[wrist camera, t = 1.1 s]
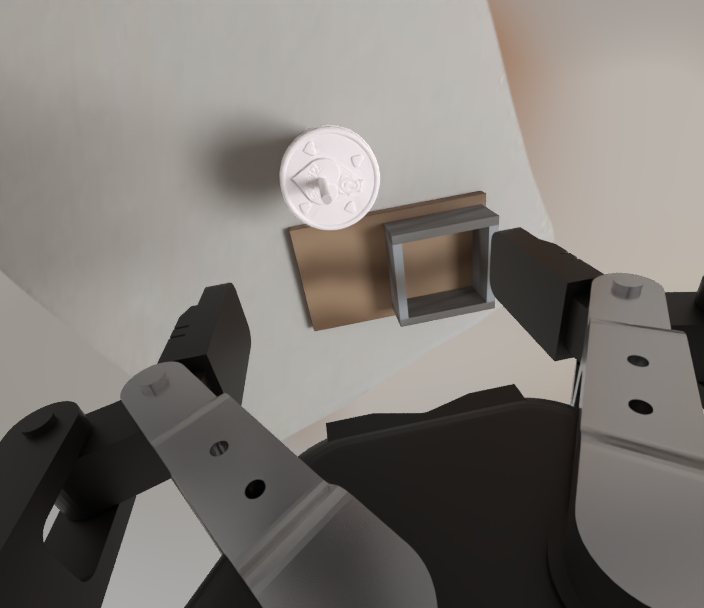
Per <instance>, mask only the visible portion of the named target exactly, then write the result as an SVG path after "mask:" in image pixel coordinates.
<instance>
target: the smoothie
mask: <svg viewBox="0 0 704 608" xmlns="http://www.w3.org/2000/svg"><path fill="white" fill-rule="evenodd" d="M279 177H280V188H281V192H282V195H283V198H284V201H285V203H286V204H287V206H288V208H289V209H290V211H291V212H292V213H293V214H294V215H295V216H296V217H297V218H298V219H299V220H301V221H302V222H303V223H305V224H307V225H309V226H311V227H314V228H317V229H321V230H338V229H343V228H346V227H349V226H351V225H353V224H355V223H356V222H358V221H359V220H360V219H362V218H363V217H364V216H365V215H366V214H367V213H368V211H369V210H370V209H371V207H372V206H373V204H374V202H375V200H376V197H377V194H378V191H379V185H380V172H379V167H378V163H377V160H376V158H375V156H374V153H373V152H372V150H371V148H370V146H369V145H368V144H367V143H366V142H365V141H364V140H363V138H362V137H361V136H359V135H358V134H356V133H355V132H353V131H352V130H350V129H348V128H344V127H341V126H337V125H320V126H317V127H314V128H310V129H308V130H306V131H305V132H303V133H302V134H300V135H299V136H297V137H296V138H295V139H294V140H293V142H292V143H291V144H290V145H289V146H288V147H287V149H286V152H285V154H284V156H283V158H282V160H281V166H280V172H279Z"/></svg>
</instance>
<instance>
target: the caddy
mask: <svg viewBox="0 0 704 608" xmlns="http://www.w3.org/2000/svg"><path fill="white" fill-rule="evenodd" d="M498 227H499V215H497V214H496V213H494V212H493V211H491V210H490V209H488V208H487V207H486V193H484V192H482V191H478V192H473V193H468V194H463V195H457V196H452V197H447V198H442V199H436V200H431V201H426V202H421V203H415V204H410V205H405V206H400V207H394V208H389V209H384V210H379V211H373V212H368V213H367V214H366V215H365V216H364V217H363V218H362V219H360V220H359V221H358V222H356V223H355V224H353V225H351V226H349V227H346V228H343V229H338V230H321V229H317V228H314V227H311V226H309V225H307V224H305V225H300V226H295V227H290V235H291V239H292V243H293V247H294V251H295V255H296V259H297V263H298V267H299V271H300V275H301V279H302V283H303V288H304V292H305V296H306V300H307V304H308V308H309V312H310V316H311V320H312V324H313V328H314V331H319V330H324V329H329V328H334V327H339V326H344V325H349V324H354V323H359V322H364V321H369V320H374V319H379V318H384V317H389V316H394V315H396V317H397V319H398V321H399V323H400V326H401V327H403V326H408V325H413V324H418V323H423V322H428V321H433V320H438V319H443V318H448V317H453V316H458V315H463V314H467V313H472V312H477V311H482V310H487V309H492V308H495V296H494V295H493V293H492V290H491V286H490V254H491V238H492V235H493V233H494V232H497V231H498Z"/></svg>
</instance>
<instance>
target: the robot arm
mask: <svg viewBox="0 0 704 608" xmlns="http://www.w3.org/2000/svg"><path fill="white" fill-rule="evenodd" d="M490 286H491V290H492V293H493V295H494V296H495V298H496V299H497V300H498V301H499V302H500V303H501V304H502V305H503V306H504V307H505V308H506V309H507V311H508V312H509V313H510V314H511V315H512V316H513V317H514V318H515V319H516V320H517V321H518V322H519V323H520V325H521V326H522V327H523V328H524V329H525V330H526V331H527V332H528V333H529V334H530V335H531V336H532V337H533V339H534V340H535V341H536V342H537V343H538V344H539V345H540V346H541V347H542V348H543V349H544V350H545V351H546V352H547V354H548V355H549V356H550V357H551V358H552V359H553V360H554V361H558V360H563V359H568V358H573V357H574V358H575V359H577V360H576V366H575V370H574V378H573V386H572V394H571V401H570V405H568V404H565V403H561V402H556V401H552V400H546V399H539V398H524V397H523V395H522V394H521V392H520V391H519V390H518V388H517V387H516V386H515V384H512V385H507V386H503V387H497V388H493V389H488V390H483V391H479V392H474V393H469V394H466V395H464V396H462V397H460V398H458V399H455V400H453V401H451V402H449V403H447V404H444V405H442V406H440V407H438V408H436V409H433V410H431V411H429V412H425V413H376V414H375V413H373V414H368V415H363V416H358V417H354V418H349V419H344V420H339V421H335V422H330V423H326V427H327V439H325V440H323V441H321V442H319V443H317V444H316V445H314V446H312V447H310V448H309V449H307V450H306V451H305V452H303V453H302V454H300V455H299V456H298V457H297V456H296V455H295V454H294V453H293V452H292V451H291V450H289V449H288V448H287V447H286V446H285V445H284V444H283V443H282V442H281V441H280V440H278V439H277V438H276V437H275V436H274V435H273V434H272V433H271V432H270V431H268V430H267V429H266V428H265V427H264V426H263V425H262V424H261V423H260V422H258V421H257V420H256V419H255V418H254V417H253V416H252V415H251V414H250V413H248V412H247V411H246V410H245V409H244V408H243V407H242V406H241V404H242V398H243V392H244V385H245V379H246V373H247V367H248V361H249V354H250V348H251V336H250V330H249V326H248V323H247V321H246V318H245V315H244V312H243V309H242V306H241V303H240V301H239V298H238V295H237V292H236V289H235V287H234V285H233V284H232V283H226V284H220V285H215V286H210V287H206V288H205V289H204V292H203V294H202V296H201V299H200V301H199V303H198V305H196V306H191V307H190V308H189V309H188V310H187V311H186V312H185V313H184V314H182V315H181V316H180V317H179V319H178V321H177V324H176V326H175V330H173V332H172V334H171V336H170V339H169V340H168V342H167V344H166V346H165V349H164V351H163V353H162V355H161V357H160V359H159V361H158V363H157V364H156V365H153V366H151V367H148V368H146V369H144V370H142V371H141V372H139V373H138V374H136V375H135V376H134V377H132V379H130V380H129V381H128V382H127V383H126V384H125V386H124V387H123V389H122V391H121V395H120V398H121V400H120V401H118V402H115V403H113V404H110V405H108V406H105V407H103V408H100V409H98V410H95V411H93V412H90V413H88V414H84V413H83V412H82V410H81V409H80V408H79V406H78V405H77V404H76V403H74V402H70V401H63V402H57V403H53V404H50V405H47V406H45V407H43V408H40V409H38V410H36V411H35V412H33V413H31V414H29V415H28V416H26V417H25V418H23V419H22V420H20V421H19V422H18V423H17V424H16V425H14V426H13V427H12V428H11V429H10V430H9V431H8V432H7V434H6V435H5V436H4V437H3V439H2V440H1V442H0V608H101V606H102V603H103V599H104V596H105V593H106V590H107V586H108V584H109V581H110V577H111V574H112V571H113V568H114V565H115V562H116V558H117V555H118V552H119V549H120V546H121V542H122V539H123V536H124V533H125V530H126V527H127V524H128V520H129V517H130V514H131V511H132V508H133V505H134V502H135V498H136V495H137V494H140V493H142V492H144V491H146V490H148V489H150V488H152V487H154V486H156V485H158V484H160V483H162V482H164V481H166V480H168V479H170V478H171V479H172V480H173V482H174V483H175V485H176V486H177V488H178V489H179V491H180V492H181V494H182V496H183V497H184V499H185V500H186V501H187V503H188V504H189V506H190V508H191V509H192V511H193V512H194V514H195V515H196V517H197V518H198V519H199V521H200V523H201V524H202V526H203V527H204V528H205V530H206V532H207V533H208V535H209V536H210V538H211V539H212V541H213V542H214V544H215V545H216V547H217V548H218V550H219V552H220V553H221V555H222V556H221V557H220V559H219V560H218V562H217V563H216V564H215V566H214V567H213V568H212V570H211V571H210V573H209V574H208V575H207V577H206V578H205V580H204V581H203V582H202V584H201V585H200V586H199V588H198V589H197V591H196V592H195V594H194V595H193V596H192V598H191V599H190V600H189V602H188V603H187V605H186V606H185V607H184V608H704V414H703V409H704V276H703V277H702V280H701V283H700V286H699V288H698V291H697V292H665V291H664V288H663V287H662V286H661V285H660V284H659V283H657V282H655V281H654V280H651V279H649V278H646V277H643V276H639V275H634V274H627V273H612V274H605V275H604V274H603V273H601V272H600V271H598V270H596V269H595V268H593V267H592V266H590V265H588V264H587V263H585V262H583V261H582V260H580V259H577V257H575V256H574V255H572V254H571V253H568V252H567V251H566V250H564V249H563V248H561V247H560V246H558V245H556V244H554V243H550V242H547V241H544V240H540V239H538V238H536V237H535V236H533V235H532V234H530V233H529V232H527V231H526V230H524V229H522V228H520V227H518V228H513V229H508V230H503V231H497V232H494V233H493V235H492V238H491V254H490ZM702 408H703V409H702ZM54 504H55V506H57V508H58V509H59V510H60V511H59V513H58V516H57V518H56V520H55V522H54V524H53V526H52V528H51V530H50V532H49V534H48V536H47V538H46V540H45V542H43V529H44V525H45V521H46V519H47V517H48V515H49V513H50V511H51V509H52V507H53V505H54Z"/></svg>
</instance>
